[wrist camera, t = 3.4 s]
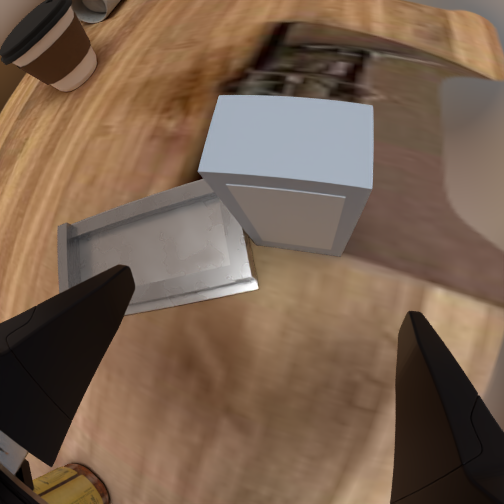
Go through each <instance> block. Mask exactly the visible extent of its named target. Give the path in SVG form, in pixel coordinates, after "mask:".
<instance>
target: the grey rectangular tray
mask: <svg viewBox="0 0 504 504" xmlns="http://www.w3.org/2000/svg"><path fill="white" fill-rule="evenodd" d="M118 264H122V265H127V266H129V267H130V268H131V271H132V275H133V278H134V281H135V291H134V294H133V296H132V298H131V301H130V303H129V305H128V308H127V310H126V312H125V315H130V314H136V313H142V312H147V311H153V310H158V309H163V308H169V307H174V306H179V305H184V304H190V303H195V302H200V301H205V300H210V299H215V298H220V297H224V296H229V295H234V294H239V293H244V292H248V291H253V290H258V289H259V287H258V282H257V277H256V272H255V267H254V262H253V257H252V252H251V247H250V242H249V237H248V234H247V233H246V231H245V230H244V229H243V228H242V226H241V225H240V224H239V223H238V221H237V220H236V219H235V218H234V216H233V215H232V214H231V212H230V211H229V210H228V209H227V207H226V206H225V205H224V204H223V202H222V201H221V200H220V199H219V197H218V196H217V195H216V194H215V192H214V191H213V190H212V189H211V187H210V186H209V185H208V183H207V182H206V181H205V180H204V179H202V180H198V181H195V182H192V183H188V184H185V185H182V186H179V187H175V188H172V189H169V190H166V191H163V192H160V193H157V194H154V195H151V196H148V197H145V198H142V199H139V200H136V201H133V202H130V203H127V204H124V205H122V206H119V207H116V208H113V209H110V210H108V211H105V212H102V213H100V214H97V215H94V216H92V217H89V218H86V219H84V220H81V221H79V222H76V223H74V224H69V223H65V224H62V225H60V226H58V276H59V292H60V293H61V292H63V291H65V290H67V289H69V288H71V287H73V286H75V285H77V284H79V283H81V282H83V281H85V280H87V279H89V278H91V277H93V276H95V275H97V274H99V273H101V272H103V271H106V270H108V269H110V268H112V267H114V266H116V265H118ZM125 315H124V316H125Z"/></svg>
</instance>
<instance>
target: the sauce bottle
mask: <svg viewBox="0 0 504 504" xmlns="http://www.w3.org/2000/svg"><path fill="white" fill-rule="evenodd" d="M32 481H33V485H34V490H33V492H35V493H36V494H37V495H39V496H40V497H41V498H42V499H44V500H45V501H46V502H48V503H49V504H109V499H108V494H107V491H106V489H105V487H104V484H103V483H102V482H101V481H100V480H99V479H98V478H97V477H96V476H95V475H94V474H93V473H92V472H91V471H90V470H88V469H87V468H85V467H84V466H82V465H79V464H67V465H65V466H64V467H59V468H57V469H55V470H53V471H51V472H49V473H47V474H45V475H43V476H40V477H38V478H36V479H34V480H32Z"/></svg>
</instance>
